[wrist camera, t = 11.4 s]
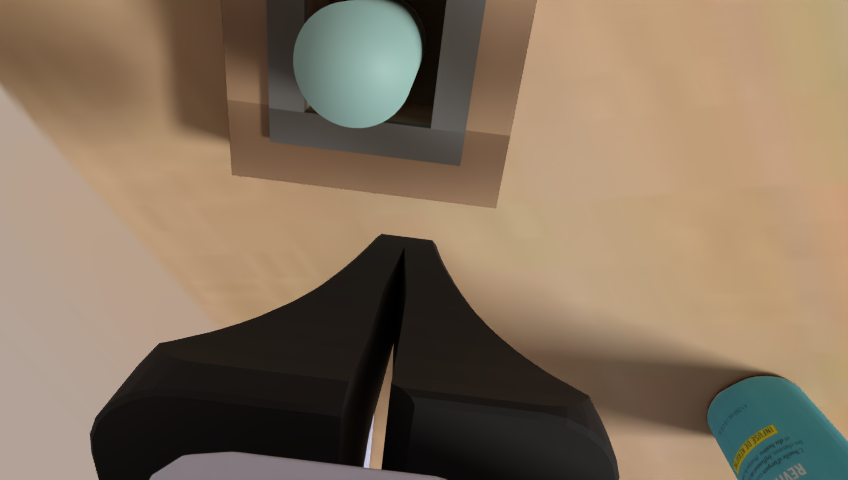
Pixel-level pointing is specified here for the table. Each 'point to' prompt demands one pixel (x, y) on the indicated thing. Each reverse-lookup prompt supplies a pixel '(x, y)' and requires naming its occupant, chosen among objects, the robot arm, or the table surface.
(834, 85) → the table surface
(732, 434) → the tube
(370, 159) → the socket
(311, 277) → the table surface
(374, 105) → the peg
